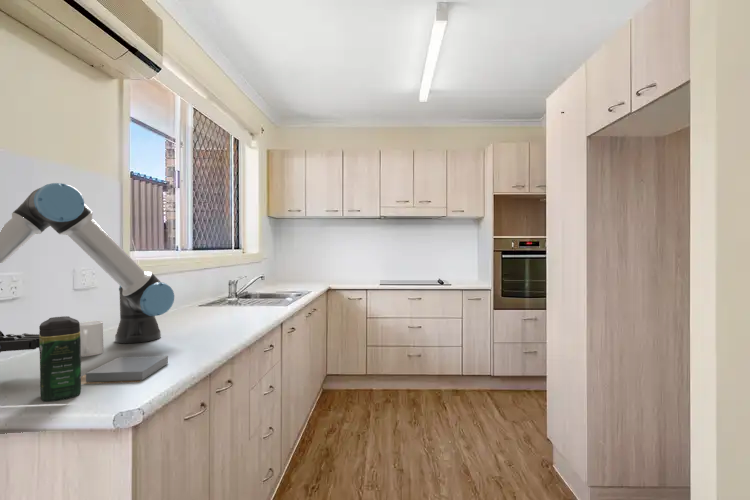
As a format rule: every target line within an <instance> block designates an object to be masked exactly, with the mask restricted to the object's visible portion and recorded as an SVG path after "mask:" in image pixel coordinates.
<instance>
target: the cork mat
mask: <svg viewBox="0 0 750 500" xmlns="http://www.w3.org/2000/svg"><path fill="white" fill-rule="evenodd" d="M142 381H143V380H134V381H102V382H86V374H84V375H81V385H91V384H122V383H124V384H125V383H127V384H128V383H140V382H142Z"/></svg>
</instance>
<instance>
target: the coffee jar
mask: <svg viewBox="0 0 750 500" xmlns="http://www.w3.org/2000/svg"><path fill="white" fill-rule="evenodd" d="M79 322H80V321H79V320H78V319H76V318H73V317H70V316H66V315H65V316H55V317H48V319H46V320H44V321H43V322H41V323H40V324H39V332H38V333H39V334H40V335H39V338H40V351H39V377H40V378H39V379H40V380H39V384H40V385H39V390H40V391H39V392H40V399H41V400H42V401H43V402H58V401H64V400H68V399H71V398H74V397H78V396H79V395H80V394H81V392H82V384H81V377H82V356H81V339H80V324H79Z"/></svg>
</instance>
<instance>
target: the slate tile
mask: <svg viewBox="0 0 750 500" xmlns="http://www.w3.org/2000/svg"><path fill="white" fill-rule="evenodd" d="M168 364H169V356H168V355H156V356H155V355H154V356H153V355H152V356H151V355H150V356H149V355H148V356H123V357H122V356H121V357H116V358H114V359H112V360H111V361H108V362H106V363H104V364H102V365H100V366H98V367H96V368H94V369H92V370H89V371H88V372H86V373H85V375H86V382H102V381H134V380H142V381H144V380H145V379H147V378H148V377H149V376H151V375H152V374H154V373H156V372H158V371H159V370H160V369H162V368H163V367H165V366H166V365H168Z"/></svg>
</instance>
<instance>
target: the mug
mask: <svg viewBox="0 0 750 500" xmlns="http://www.w3.org/2000/svg"><path fill="white" fill-rule="evenodd" d="M79 324H80V339H81V357H90V356H91V357H92V356H97V355H102V354H103V353H104V322H103V321H102V320H89V321H79Z"/></svg>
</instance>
